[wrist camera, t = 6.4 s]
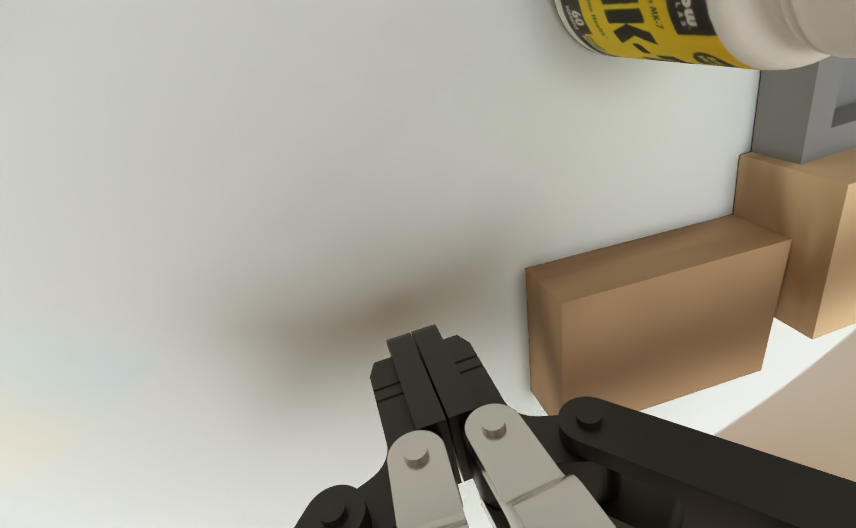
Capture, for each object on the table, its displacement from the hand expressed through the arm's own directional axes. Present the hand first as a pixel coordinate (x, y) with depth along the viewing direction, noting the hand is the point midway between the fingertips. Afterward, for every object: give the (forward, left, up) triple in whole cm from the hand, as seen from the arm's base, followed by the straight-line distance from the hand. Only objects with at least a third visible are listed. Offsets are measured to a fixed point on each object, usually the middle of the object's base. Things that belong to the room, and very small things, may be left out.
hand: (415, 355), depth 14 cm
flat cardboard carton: (+4, +9, -4) cm, 11 cm away
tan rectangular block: (+1, +15, -3) cm, 16 cm away
